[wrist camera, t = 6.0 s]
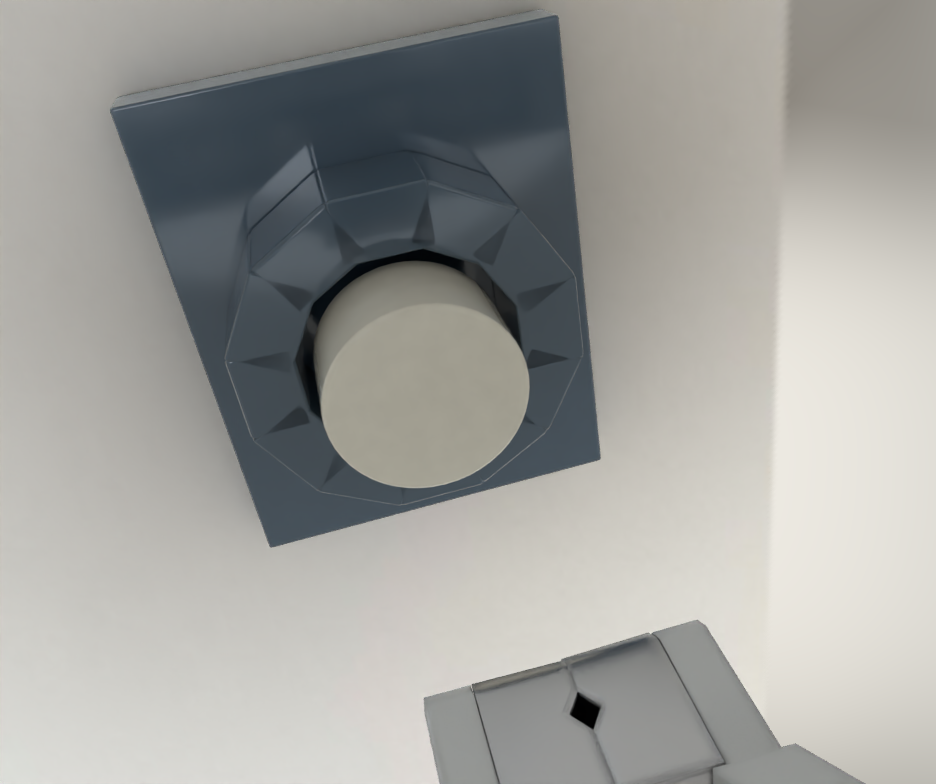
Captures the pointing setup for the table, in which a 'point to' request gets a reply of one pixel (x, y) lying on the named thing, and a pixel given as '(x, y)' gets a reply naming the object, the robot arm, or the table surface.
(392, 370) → the cream button cap
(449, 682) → the table surface
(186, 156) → the mounted push button
